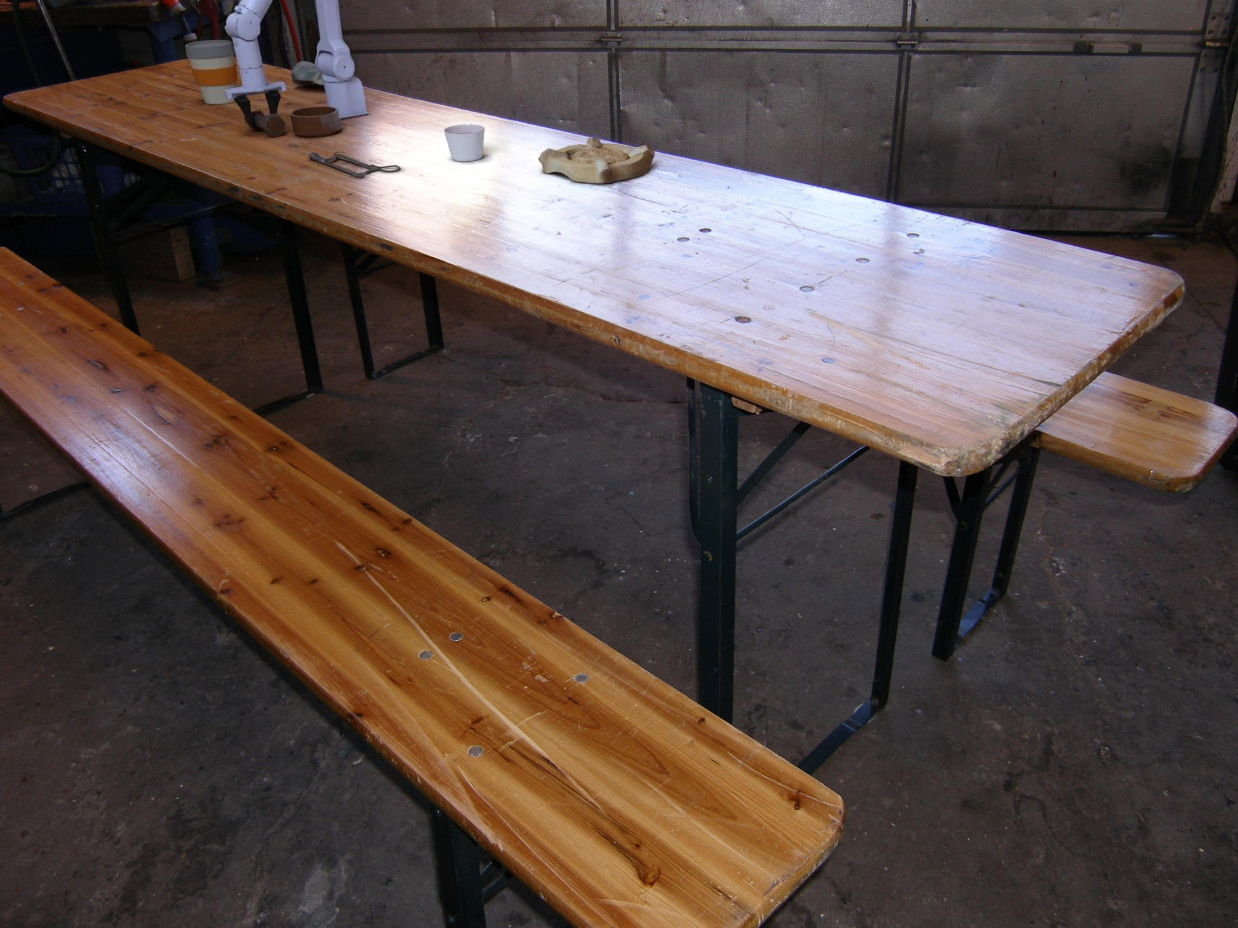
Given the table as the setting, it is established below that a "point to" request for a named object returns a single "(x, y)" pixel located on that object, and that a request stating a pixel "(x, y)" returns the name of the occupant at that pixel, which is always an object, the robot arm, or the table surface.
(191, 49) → the reusable coffee cup
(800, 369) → the table surface
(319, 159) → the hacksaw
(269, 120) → the bolt
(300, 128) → the bowl
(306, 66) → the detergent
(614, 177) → the ashtray
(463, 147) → the white tapered cup
